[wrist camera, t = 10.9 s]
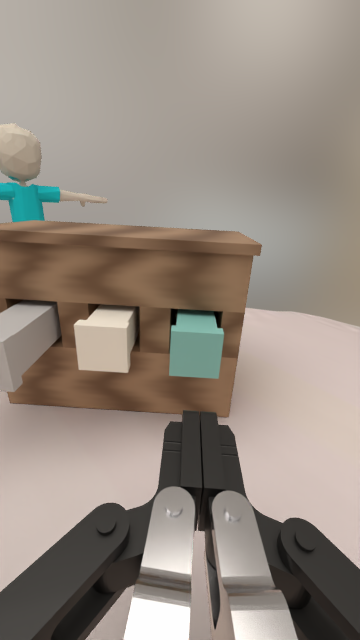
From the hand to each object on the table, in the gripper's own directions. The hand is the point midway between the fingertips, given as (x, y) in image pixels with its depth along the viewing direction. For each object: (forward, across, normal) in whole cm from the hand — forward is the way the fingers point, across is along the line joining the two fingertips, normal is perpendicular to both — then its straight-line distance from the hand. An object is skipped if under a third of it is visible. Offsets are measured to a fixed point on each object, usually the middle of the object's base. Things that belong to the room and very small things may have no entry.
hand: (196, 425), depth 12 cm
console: (+17, +7, +10) cm, 21 cm away
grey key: (+10, +14, +3) cm, 17 cm away
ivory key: (+13, +7, +3) cm, 15 cm away
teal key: (+13, 0, +3) cm, 13 cm away
